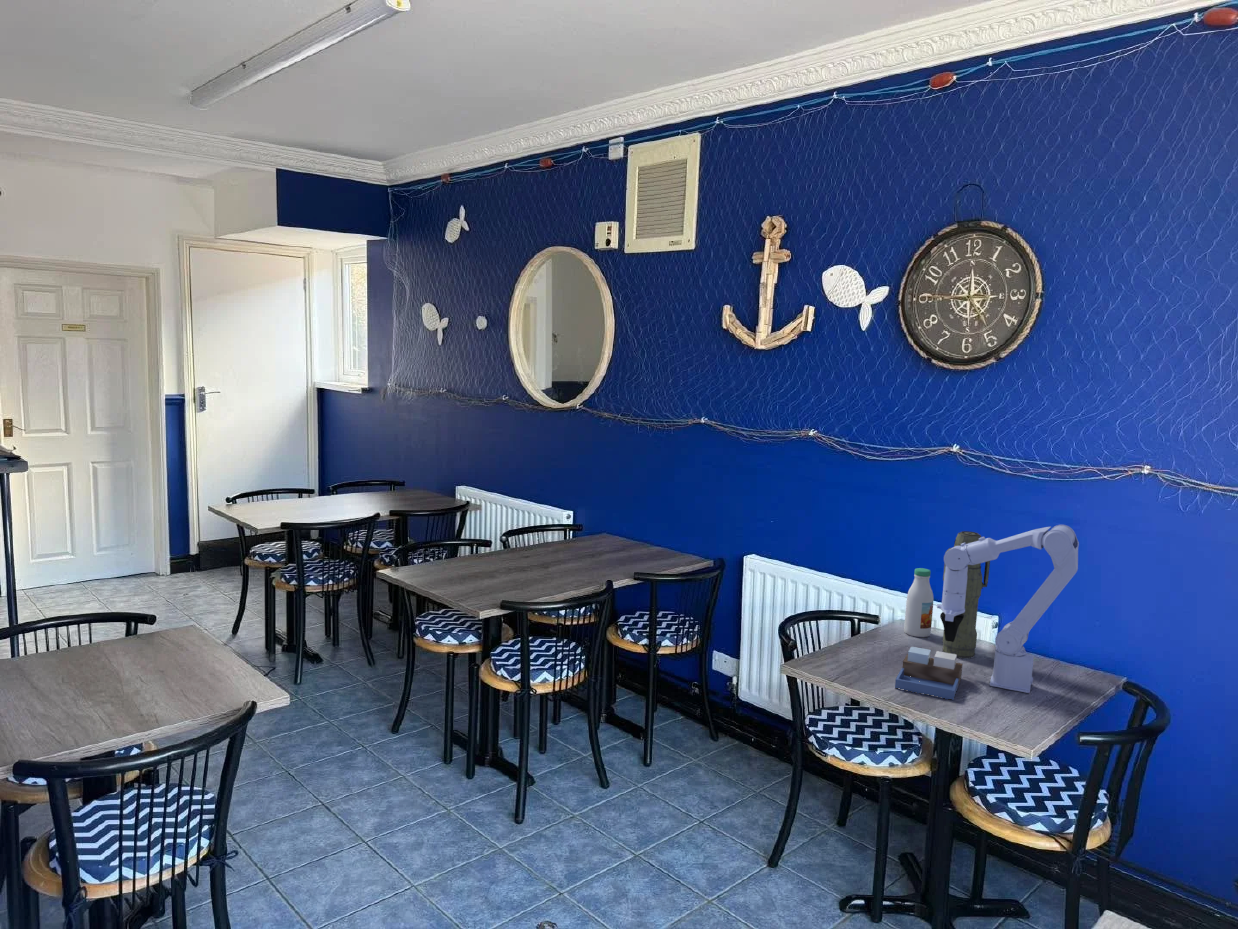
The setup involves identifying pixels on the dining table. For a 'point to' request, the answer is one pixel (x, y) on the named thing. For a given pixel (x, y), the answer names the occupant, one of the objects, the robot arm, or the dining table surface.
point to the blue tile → (919, 655)
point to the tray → (926, 686)
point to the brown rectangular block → (932, 671)
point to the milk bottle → (919, 605)
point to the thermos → (968, 604)
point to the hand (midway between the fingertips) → (949, 640)
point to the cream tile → (945, 660)
